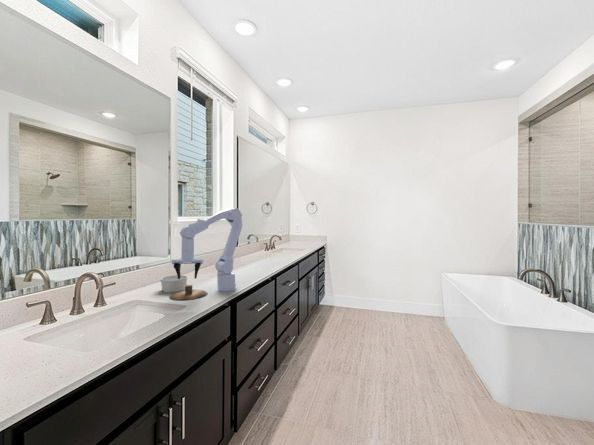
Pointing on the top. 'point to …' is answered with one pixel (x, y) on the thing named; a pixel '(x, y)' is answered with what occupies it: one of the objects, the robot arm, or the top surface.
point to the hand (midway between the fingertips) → (187, 278)
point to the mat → (187, 300)
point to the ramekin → (173, 283)
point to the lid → (188, 294)
